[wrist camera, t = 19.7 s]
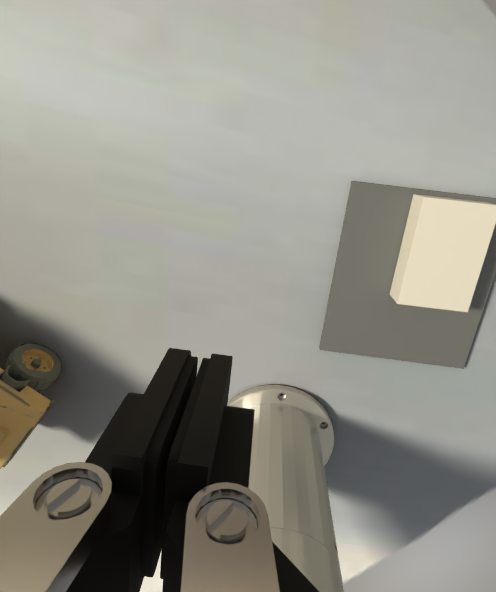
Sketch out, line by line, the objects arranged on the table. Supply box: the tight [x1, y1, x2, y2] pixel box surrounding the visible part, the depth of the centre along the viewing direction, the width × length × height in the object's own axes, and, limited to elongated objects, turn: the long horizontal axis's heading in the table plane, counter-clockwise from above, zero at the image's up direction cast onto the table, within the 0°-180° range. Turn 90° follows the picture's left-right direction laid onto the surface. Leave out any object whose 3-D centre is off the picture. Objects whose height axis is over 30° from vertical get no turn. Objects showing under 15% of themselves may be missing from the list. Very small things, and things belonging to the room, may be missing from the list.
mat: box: [320, 181, 496, 369], centre depth 36 cm, size 16×14×1 cm
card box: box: [390, 194, 496, 312], centre depth 34 cm, size 9×3×6 cm
